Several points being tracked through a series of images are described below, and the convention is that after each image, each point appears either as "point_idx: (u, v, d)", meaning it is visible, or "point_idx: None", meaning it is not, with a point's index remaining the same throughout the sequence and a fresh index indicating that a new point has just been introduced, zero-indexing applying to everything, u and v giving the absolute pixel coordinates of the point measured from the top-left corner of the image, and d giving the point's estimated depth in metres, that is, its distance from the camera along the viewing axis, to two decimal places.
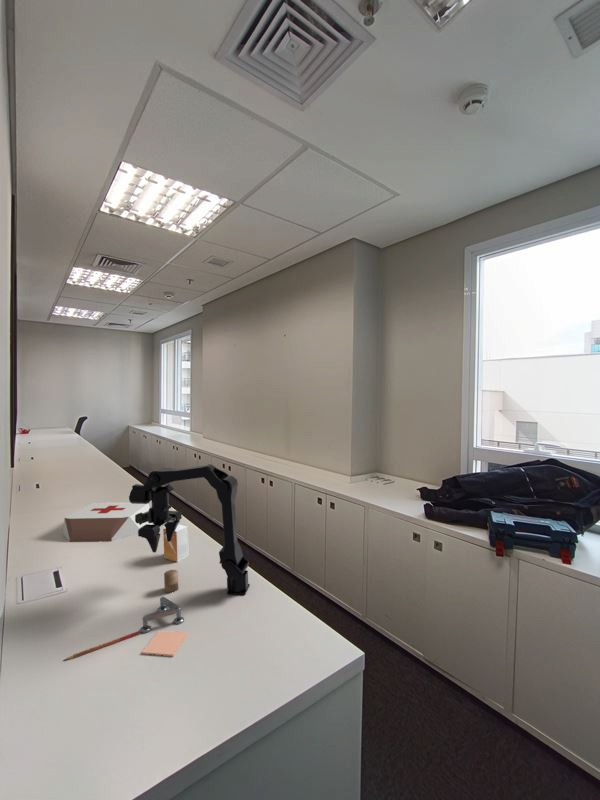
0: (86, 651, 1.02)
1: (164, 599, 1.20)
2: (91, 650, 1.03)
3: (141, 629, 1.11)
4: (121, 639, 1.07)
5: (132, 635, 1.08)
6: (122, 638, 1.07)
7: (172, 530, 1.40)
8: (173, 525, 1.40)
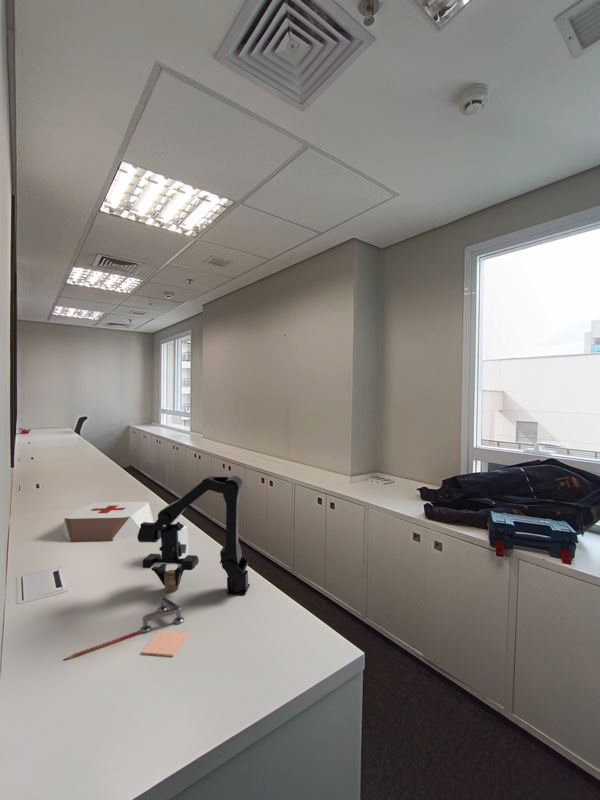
0: (86, 650, 1.02)
1: (164, 599, 1.20)
2: (91, 650, 1.03)
3: (141, 629, 1.11)
4: (121, 639, 1.07)
5: (132, 635, 1.09)
6: (122, 638, 1.07)
7: None
8: None
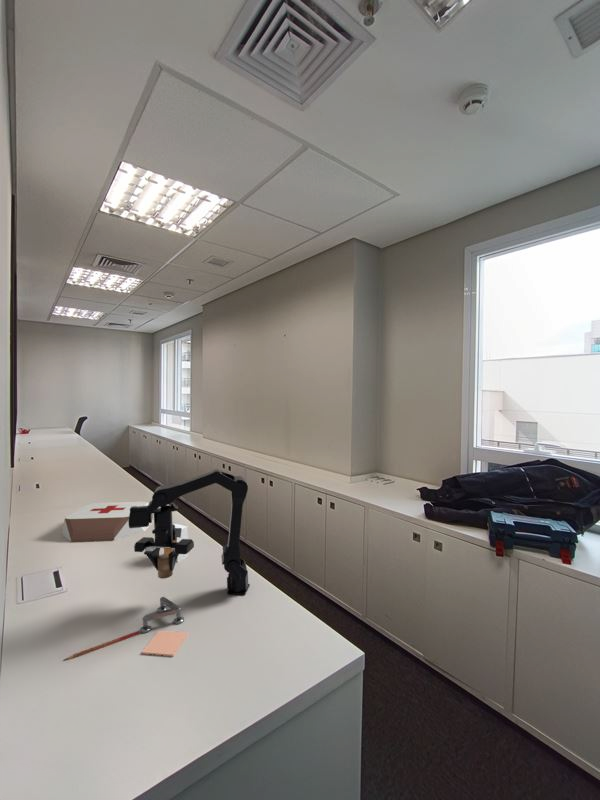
0: (86, 651, 1.02)
1: (164, 599, 1.20)
2: (91, 650, 1.03)
3: (141, 629, 1.11)
4: (121, 639, 1.07)
5: (132, 635, 1.09)
6: (122, 638, 1.07)
7: None
8: None
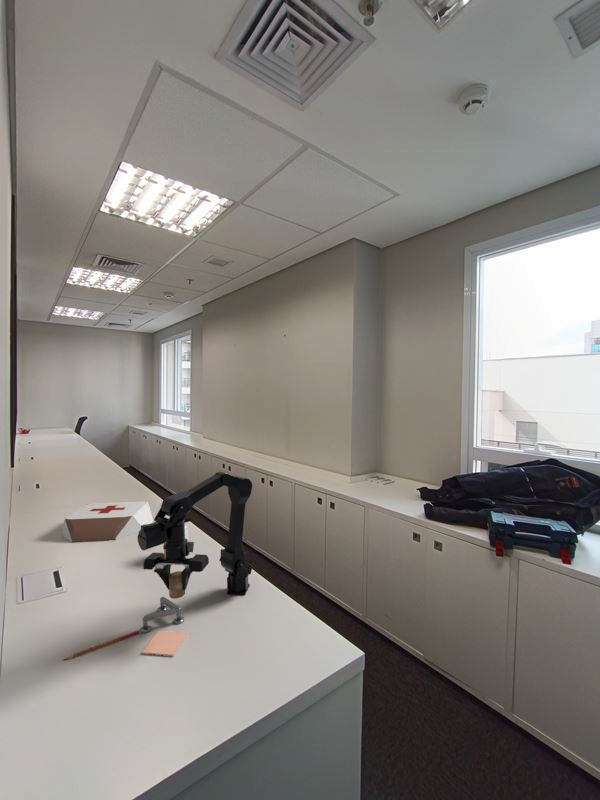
0: (86, 650, 1.02)
1: (164, 599, 1.20)
2: (91, 649, 1.03)
3: (141, 629, 1.11)
4: (121, 638, 1.07)
5: (132, 634, 1.09)
6: (122, 637, 1.07)
7: None
8: None
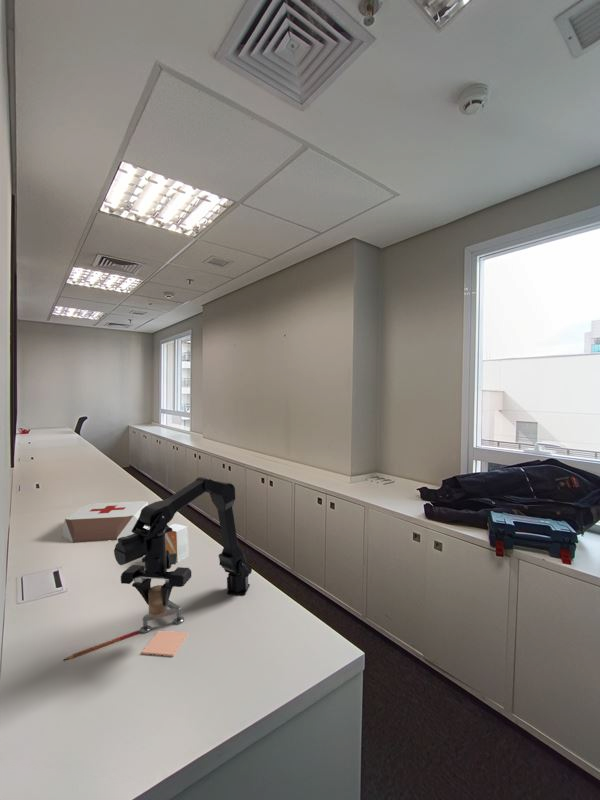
0: (86, 650, 1.02)
1: None
2: (91, 649, 1.03)
3: (141, 629, 1.11)
4: (121, 638, 1.07)
5: (132, 634, 1.09)
6: (122, 637, 1.07)
7: None
8: None
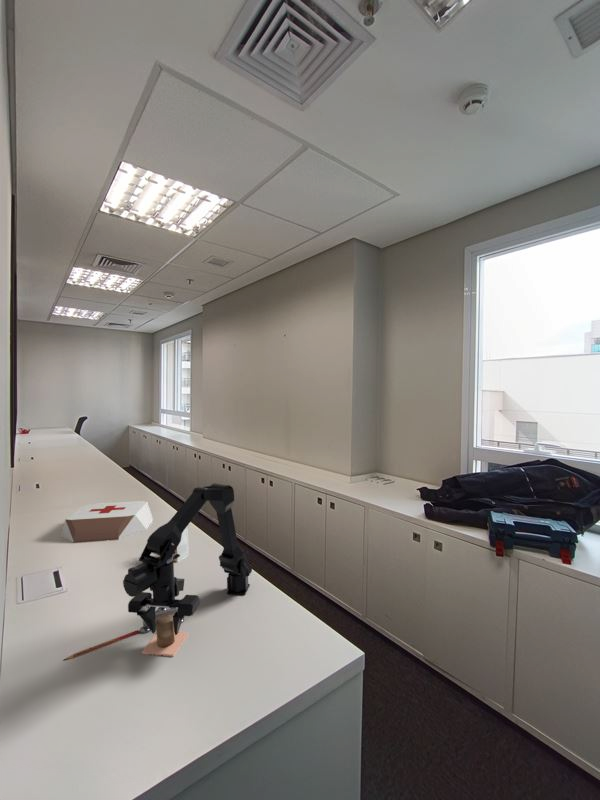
0: (86, 650, 1.02)
1: None
2: (91, 649, 1.03)
3: (141, 629, 1.11)
4: (121, 638, 1.07)
5: (132, 634, 1.09)
6: (122, 637, 1.08)
7: None
8: None
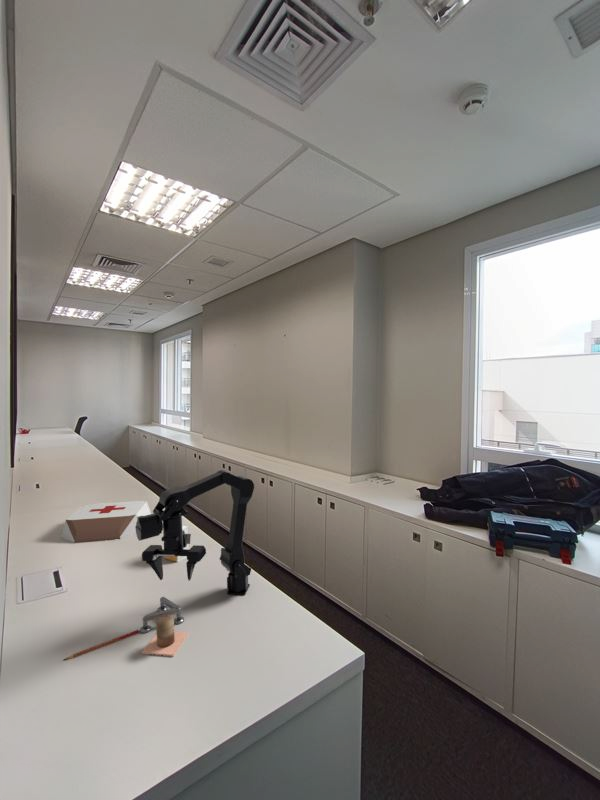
0: (86, 650, 1.02)
1: (164, 599, 1.20)
2: (91, 649, 1.03)
3: (141, 629, 1.11)
4: (121, 638, 1.07)
5: (131, 634, 1.09)
6: (122, 637, 1.08)
7: None
8: None
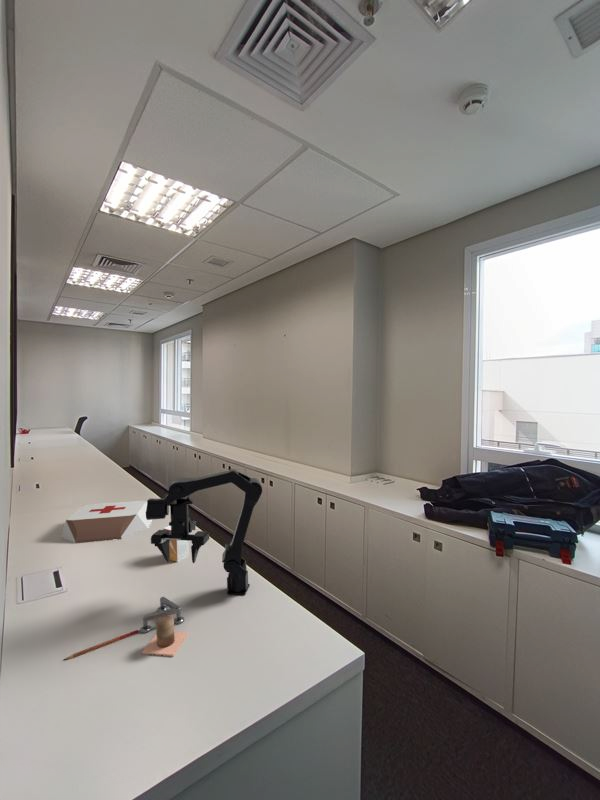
0: (86, 650, 1.02)
1: (164, 599, 1.20)
2: (91, 649, 1.03)
3: (141, 629, 1.11)
4: (121, 638, 1.07)
5: (131, 633, 1.09)
6: (121, 637, 1.08)
7: None
8: None
